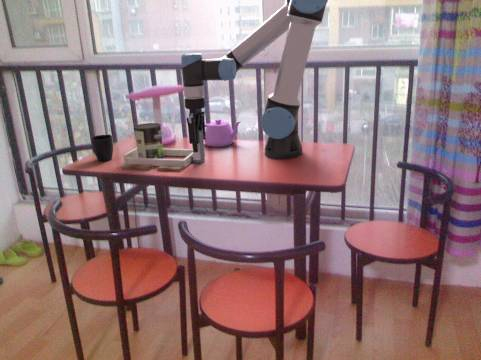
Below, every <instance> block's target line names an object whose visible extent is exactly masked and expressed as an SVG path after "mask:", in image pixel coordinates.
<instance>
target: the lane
mask: <svg viewBox="0 0 481 360" xmlns="http://www.w3.org/2000/svg"><path fill="white" fill-rule="evenodd" d="M198 143H200V156H201V160H193V148H191V149H190V148H164V147H163V154H164V156H174V157H178V156H179V157H184V158H183V159H178V158H177V159H176V158H164V159H155V158H138V152H137V146H136V147H134V148H133V149H131V150H130V151H127V152H126V153H124V154H123V161H124V162H123V163H124V165H126V164H139V165H153V167H160V166H161V165H163V166H183V167H184V168H186V167H187V166H189V165H190V164H191V163H194V164H202V163H203V162H204V161H206V159H205V158H206V155H204V151H205V141H204V142H203V130H198Z"/></svg>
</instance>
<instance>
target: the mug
mask: <svg viewBox="0 0 481 360" xmlns="http://www.w3.org/2000/svg"><path fill="white" fill-rule="evenodd" d="M90 141H91V146H92V151H93V153H94V155H95V158H96V159H97V161H98V162H100V163H103V162H109V161H112V159H113V155H114V141H113V135H112V134H109V133H108V134H99V135H94V136H92V137H91V138H90Z"/></svg>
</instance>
